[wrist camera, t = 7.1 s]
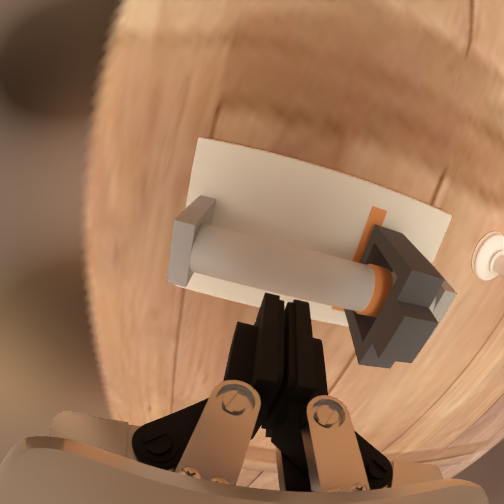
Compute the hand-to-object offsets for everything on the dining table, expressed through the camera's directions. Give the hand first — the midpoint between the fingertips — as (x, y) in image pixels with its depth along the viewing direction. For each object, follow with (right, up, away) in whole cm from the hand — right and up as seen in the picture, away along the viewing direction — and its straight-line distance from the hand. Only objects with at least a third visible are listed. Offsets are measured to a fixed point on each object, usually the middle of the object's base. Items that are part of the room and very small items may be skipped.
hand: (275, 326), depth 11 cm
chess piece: (+22, +3, +10) cm, 24 cm away
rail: (+4, +3, +11) cm, 12 cm away
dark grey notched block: (+8, +2, +10) cm, 13 cm away
